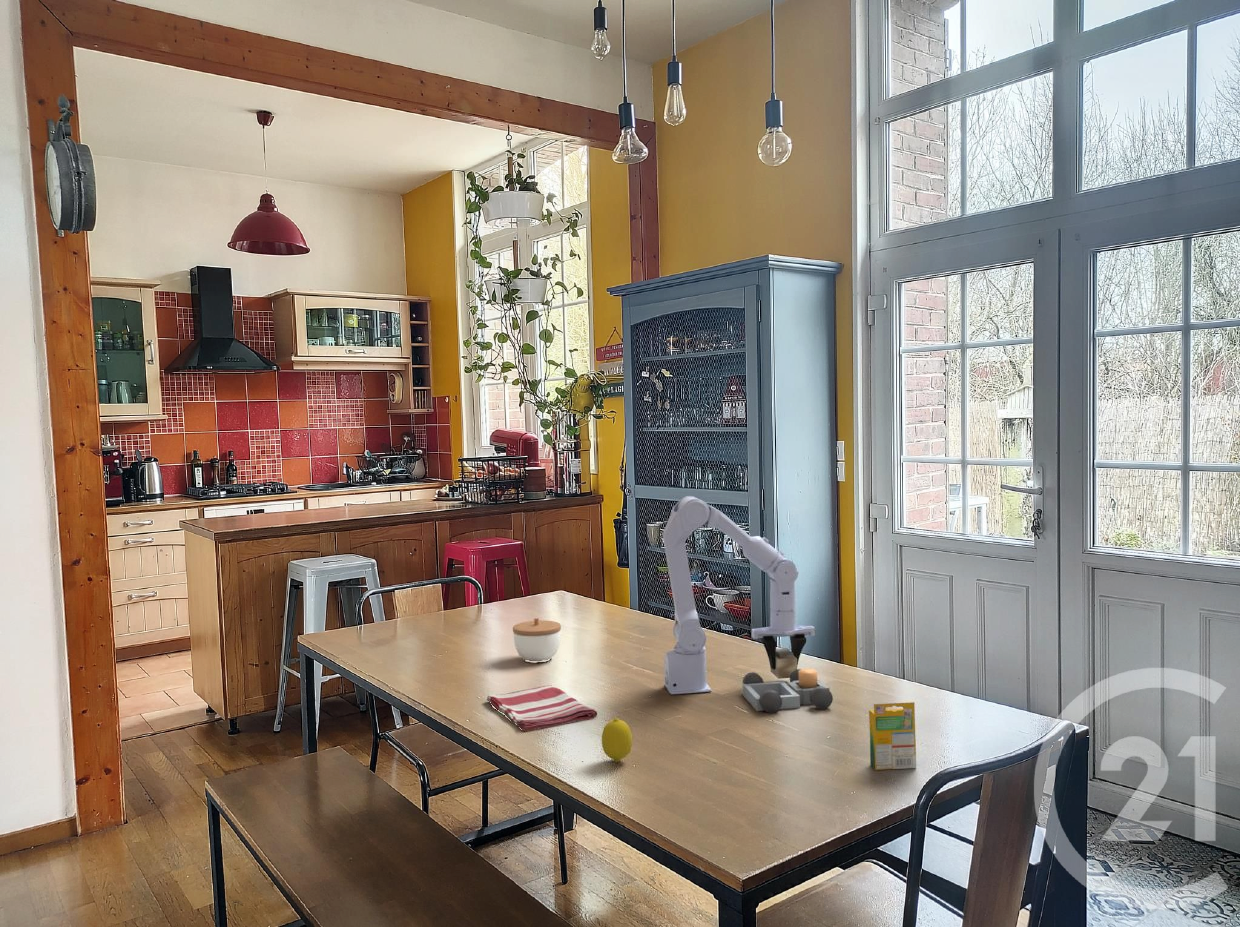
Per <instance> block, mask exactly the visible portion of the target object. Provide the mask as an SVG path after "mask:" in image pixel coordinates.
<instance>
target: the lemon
mask: <svg viewBox="0 0 1240 927" xmlns="http://www.w3.org/2000/svg"><path fill="white" fill-rule="evenodd" d="M632 746H633V735H632V732H631V728H630V727H629V725H628V723H626V722H625V721H624V720H621V719H619V718H618V717H616V718H614V719H612V720H610V721H608V722H607V723H606V724H605V726H604V727H603V729H602V733H601V747H602V750H603V752H604V754H605V755H606V756H607V757H608V758H610V759H612V760H614V761H615V762H616V763H619V762H621V760H622V759H624V758H625V757H627V756H628V755H630V753H631V752H630V751H631V750H632Z"/></svg>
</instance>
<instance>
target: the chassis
mask: <svg viewBox="0 0 1240 927" xmlns="http://www.w3.org/2000/svg"><path fill="white" fill-rule="evenodd" d="M801 669H802V668H797V670H795V671H793V672H792V674H791V675H790V678H789V681H787V682H785V681H784V680H783V681H782V680H781V681H769V682H765V681H764V678H763V677H761V676H760V675H759V674H758V673H756V672H753V671H751V672H748V673H746V674H745V675H744V676H743V679H742V695H743V696H744V698H745V699H746V700H747V702H748V703H750V705H751V706H752V707H753V708H754V709H755V710H756V711H757V712H759V711H760V712H761V711H765V712H766V713H767V714H774V713H777V712H778V711H780V710H786V709H798V708H799V709H801V705H813V706H815V708H817V709H819V710H825V709H828V708H829V707H831V705H832V703H833V700H834V697H833V693H832V692H831V690H830V687H829V686H828V685H826V683H824V682H823V681H822V680H820V679H817V684H818V685H817V686H816V687H814V688H805V689H803V687H801V686H799V670H801Z"/></svg>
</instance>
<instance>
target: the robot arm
mask: <svg viewBox="0 0 1240 927" xmlns="http://www.w3.org/2000/svg"><path fill="white" fill-rule="evenodd" d="M703 525H704V526H706V527H709V528H717V530H718V531H720V532H722V533H723V534H725V535H726V536H727V537H728V538H730V539H731V540H733V541H734V542H735V543H736V544H738V546H741V547H742V548H741V549H742V554H743V557H745V558H746V559H747V560H749V561H750V562H751V563H752V564H754V565H755V566H756V567H758V568H759V569H760V570H761V571H763V572H765V573H766V575H767V576H768V577H769V578H770V579H769V580H770V581H769V585H770V588H769V601H770V602H769V608H770V609H769V612H770V614H769V616H770V618H769V619H770V620H769V623H770V626H766V627H765V626H764V627H758V628H751V638H752V639H753V640H759V639H760V641H761V643H762V644H763V646H764V649H765V651H766V654H767V658H768V662H769V667H771V668H772V669H776V657H775V655H776V649H777V641H775V638H780V637H781V638H782V637H783V638H785V637H789V641H790V651H791V652H792V653H793V656H795V657H796V658H797V667H798V665H799V660H800V656H801V654H802V651H803V649H804V647H805V645H806V643H807V637H805V636H811V637H814V636H816V635H815V631H816V630H815V626H813V625H797V624H796V589H795V583H796V581H797V579H798V577H799V571H798V569H797V566H796V564H795V563H794V562H793V561H791V560H790V559H788V558H786V556H785V553H784V552H783V551H781V550H780V551H778V550H777V549H776V548H775V547H773V545H771V544H770V543H769V542H770V541H769V539H767V537H765V536H763V537H761V536H760V535H755V536H750V535H749V534H748V533H747V532H746V531H745V530H743V529H742V528H741V527H740V526H738V525H737V524H736V523H735V522H734V521H733V520H732V519H731V518H729V517H728V516H727V515H726V514H724V513H723V512H722V511H721V510H719V509H717V508H715V507H714V506H712V505H710V504H708V503H706V502H705V501H704V500H702V499H699V498H697V497H696V496H694V495H687V496H684V497H682V498H680V500H679V501H677V503H675V505H674V506H673V507H672V510H671V512H670V515H669V518H668V521H667V523H666V525H665V528H664V529H663V530H664V531H663V533H662V538H663V544H664V551H665V552H664V553H665V558H666V563H667V568H668V570H667V571H668V575H669V581H670V587H671V592H672V593H671V594H672V600H673V606H674V625H673V629H672V630H673V636H674V638H675V639H676V641H677V642H676V643H675V646H674V647H673V650H670V651H665V652H664V658H663V660H664V662H663V663H664V686H665V688H666V689H667V691H668V693H669V694H670V695H682V694H693V693H694V694H695V693H707V692H708V693H711V692H712V688H711V687H710V686H709V684H708V683H707V660H706V658H707V657H706V656H707V655H706V654H707V653H706V647H705V646H706V643H707V635H706V632H705V631H704V629H703V627H702V626H701V624H700V619H699V615H698V612H697V607H696V602H695V596H694V591H693V583H692V578H691V571H690V566H689V558H688V553H687V547H686V540H687V539H688V538H689V537H690V536H691V534H692V533H693V532H694V531H695V530H697V529H699V528H700V527H701V526H703ZM771 668H770V669H771Z"/></svg>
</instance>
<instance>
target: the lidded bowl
mask: <svg viewBox="0 0 1240 927" xmlns="http://www.w3.org/2000/svg"><path fill="white" fill-rule="evenodd" d="M561 627H562V626H561V623H559V622H557V621H555V620H545V619H544V620H543V619H542V620H541V619H540V618H539V617H535V618H533V620H530V621H529V620H528V621H524V622H523V621H522V622H520V623H519V622H518V623H516V624H514V625H513V626H512V632H513V641H514V642H513V643H514V647H515V650H516V653H517V654H518V655H519V656H520V657H521V658H522V659H523V660H524V659H525V660H529V661H542V660H548V659H551V658H553V657H554V656H555V655H556V654H557V652H558V651H559V648H560V645H561V644H560V643H561V629H562V628H561ZM551 660H552V659H551Z"/></svg>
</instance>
